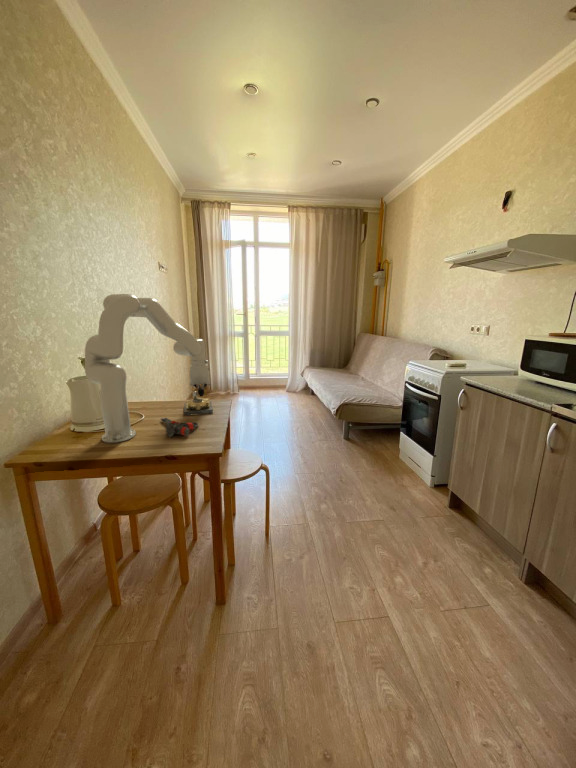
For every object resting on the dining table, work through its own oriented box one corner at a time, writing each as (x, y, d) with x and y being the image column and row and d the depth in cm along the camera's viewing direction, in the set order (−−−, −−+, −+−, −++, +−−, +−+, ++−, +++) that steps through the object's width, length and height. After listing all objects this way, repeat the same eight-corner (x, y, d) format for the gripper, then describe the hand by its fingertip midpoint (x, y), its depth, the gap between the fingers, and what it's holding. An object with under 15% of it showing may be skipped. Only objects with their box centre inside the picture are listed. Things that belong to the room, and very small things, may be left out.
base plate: (212, 413, 157) (212, 409, 157) (184, 415, 153) (184, 412, 153) (211, 404, 171) (210, 400, 171) (184, 406, 167) (184, 403, 167)
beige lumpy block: (214, 403, 166) (213, 391, 164) (203, 410, 155) (202, 398, 153) (193, 401, 169) (192, 390, 167) (181, 408, 157) (180, 396, 156)
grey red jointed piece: (207, 436, 135) (174, 441, 124) (182, 422, 153) (151, 426, 143) (208, 422, 134) (174, 426, 124) (183, 410, 153) (152, 413, 142)
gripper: (213, 360, 165) (216, 393, 170) (185, 361, 163) (188, 394, 168) (212, 363, 158) (214, 397, 163) (182, 364, 156) (186, 398, 161)
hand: (201, 395), depth 165 cm, fingers closed
